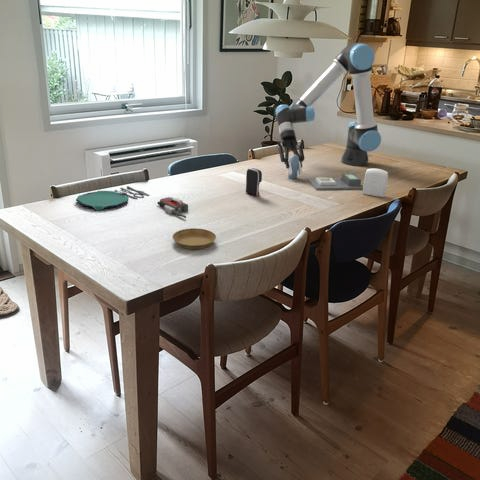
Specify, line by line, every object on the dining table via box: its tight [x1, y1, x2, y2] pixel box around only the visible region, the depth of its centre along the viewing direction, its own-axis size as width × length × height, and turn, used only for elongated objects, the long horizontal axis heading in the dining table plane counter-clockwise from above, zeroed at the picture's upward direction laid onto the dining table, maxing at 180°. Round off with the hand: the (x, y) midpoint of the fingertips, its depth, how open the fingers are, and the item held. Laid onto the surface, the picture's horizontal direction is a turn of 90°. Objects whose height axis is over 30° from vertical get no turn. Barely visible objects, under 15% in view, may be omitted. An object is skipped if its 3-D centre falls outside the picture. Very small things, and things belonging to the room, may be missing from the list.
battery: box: [245, 167, 263, 197], centre depth 219 cm, size 7×4×11 cm, turn 42°
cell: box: [287, 154, 299, 180], centre depth 246 cm, size 4×4×12 cm
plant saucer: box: [172, 227, 217, 250], centre depth 169 cm, size 15×15×3 cm
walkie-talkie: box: [157, 196, 189, 219], centre depth 196 cm, size 9×4×20 cm
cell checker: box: [306, 173, 364, 191], centre depth 240 cm, size 24×16×4 cm, turn 100°
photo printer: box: [362, 167, 389, 198], centre depth 226 cm, size 10×4×12 cm, turn 63°
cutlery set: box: [75, 186, 150, 212], centre depth 205 cm, size 20×30×2 cm, turn 141°
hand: (295, 173), depth 244 cm, fingers closed on cell, 4 cm apart
